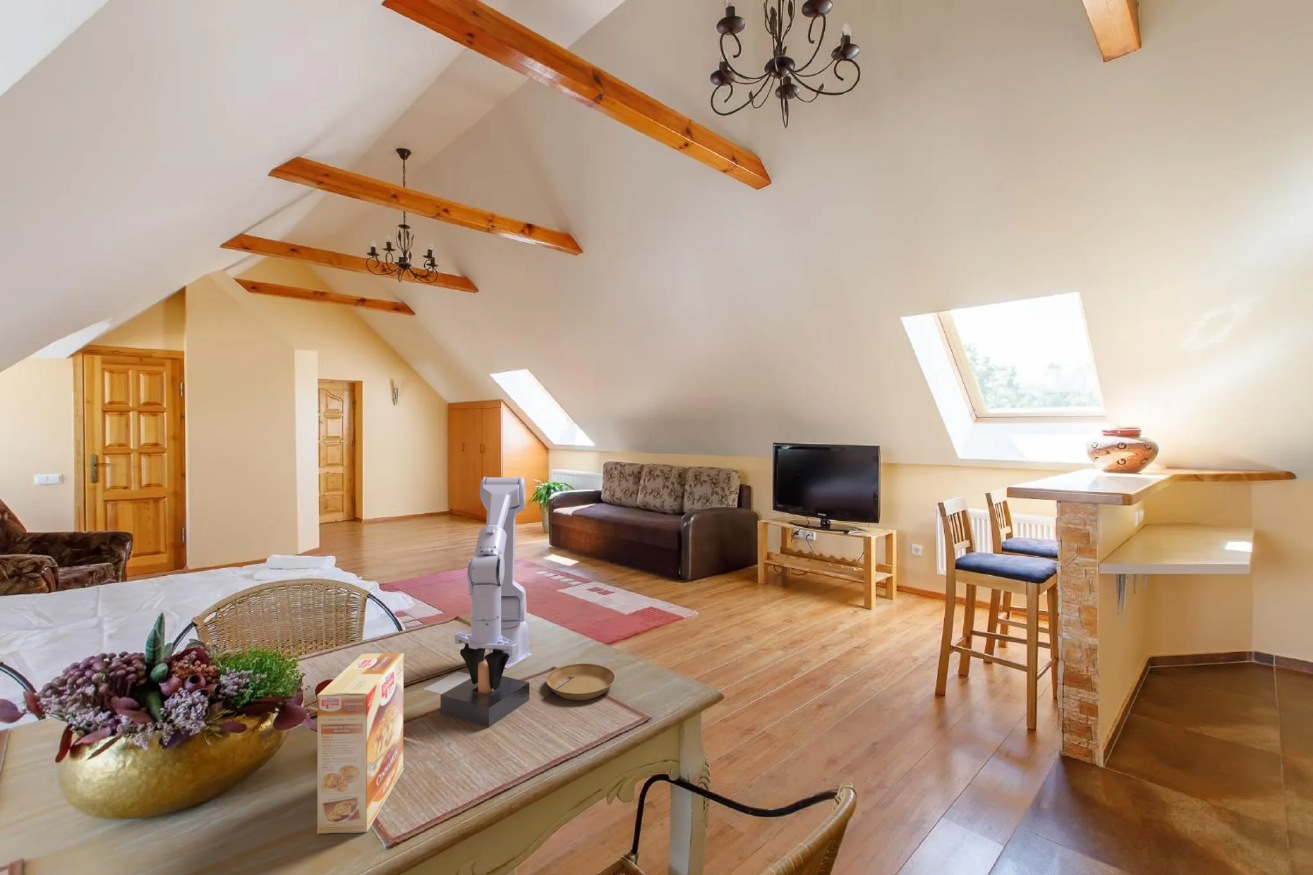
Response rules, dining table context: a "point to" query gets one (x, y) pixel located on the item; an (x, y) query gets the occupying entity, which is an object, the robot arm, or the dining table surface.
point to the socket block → (484, 701)
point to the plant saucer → (581, 681)
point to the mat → (448, 682)
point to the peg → (483, 678)
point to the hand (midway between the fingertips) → (486, 684)
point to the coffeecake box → (359, 742)
